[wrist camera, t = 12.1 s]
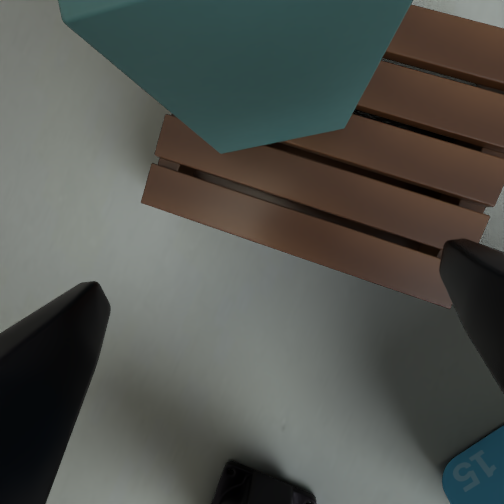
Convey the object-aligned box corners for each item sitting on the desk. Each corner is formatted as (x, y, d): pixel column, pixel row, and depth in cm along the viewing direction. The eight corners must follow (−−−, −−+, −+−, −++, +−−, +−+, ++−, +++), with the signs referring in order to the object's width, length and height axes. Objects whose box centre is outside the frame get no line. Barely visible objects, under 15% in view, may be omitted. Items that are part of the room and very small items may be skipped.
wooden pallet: (416, 288, 20) (450, 309, 15) (172, 205, 21) (140, 202, 17) (500, 86, 18) (566, 43, 14) (229, 11, 20) (209, -49, 15)
